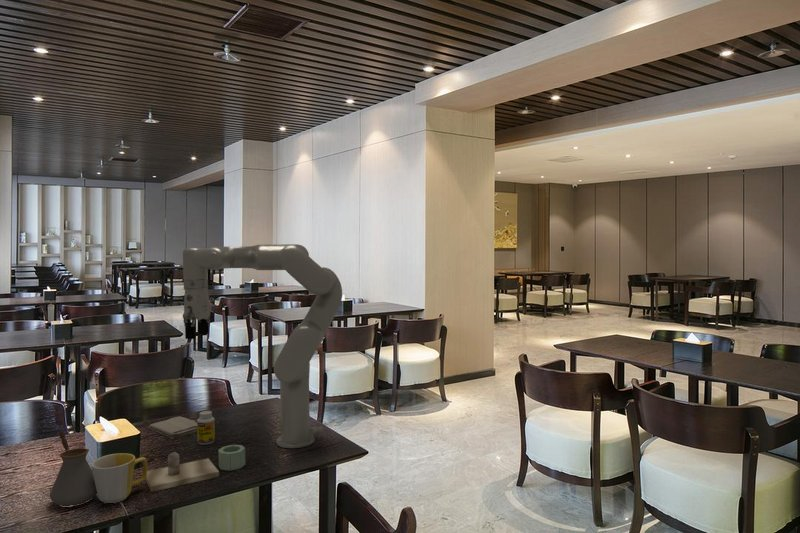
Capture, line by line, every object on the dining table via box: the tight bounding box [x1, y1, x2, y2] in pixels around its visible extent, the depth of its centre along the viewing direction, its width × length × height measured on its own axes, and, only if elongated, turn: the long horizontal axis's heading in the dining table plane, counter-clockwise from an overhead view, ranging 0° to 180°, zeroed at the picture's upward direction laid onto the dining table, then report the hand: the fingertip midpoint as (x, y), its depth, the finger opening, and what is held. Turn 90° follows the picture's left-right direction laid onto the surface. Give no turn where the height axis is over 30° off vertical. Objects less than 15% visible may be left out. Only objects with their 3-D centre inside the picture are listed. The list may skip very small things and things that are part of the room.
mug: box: [90, 452, 148, 504], centre depth 150 cm, size 14×10×10 cm
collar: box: [217, 444, 246, 472], centre depth 171 cm, size 7×7×5 cm
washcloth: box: [148, 416, 197, 440], centre depth 205 cm, size 12×18×3 cm, turn 51°
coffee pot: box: [49, 430, 97, 506], centre depth 152 cm, size 21×12×15 cm, turn 42°
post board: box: [144, 451, 220, 493], centre depth 163 cm, size 18×12×8 cm, turn 122°
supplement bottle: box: [196, 410, 216, 446], centre depth 191 cm, size 6×6×10 cm
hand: (197, 336), depth 189 cm, fingers open, 9 cm apart
